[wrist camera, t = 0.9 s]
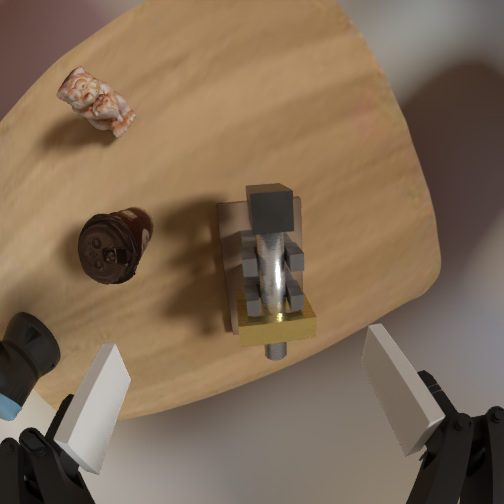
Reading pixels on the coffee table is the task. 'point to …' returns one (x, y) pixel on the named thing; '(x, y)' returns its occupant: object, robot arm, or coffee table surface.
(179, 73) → the coffee table surface
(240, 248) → the bearing block
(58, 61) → the coffee table surface
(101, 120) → the figurine
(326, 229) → the coffee table surface
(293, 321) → the block
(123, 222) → the coffee cup
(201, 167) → the coffee table surface
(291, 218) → the shaft
